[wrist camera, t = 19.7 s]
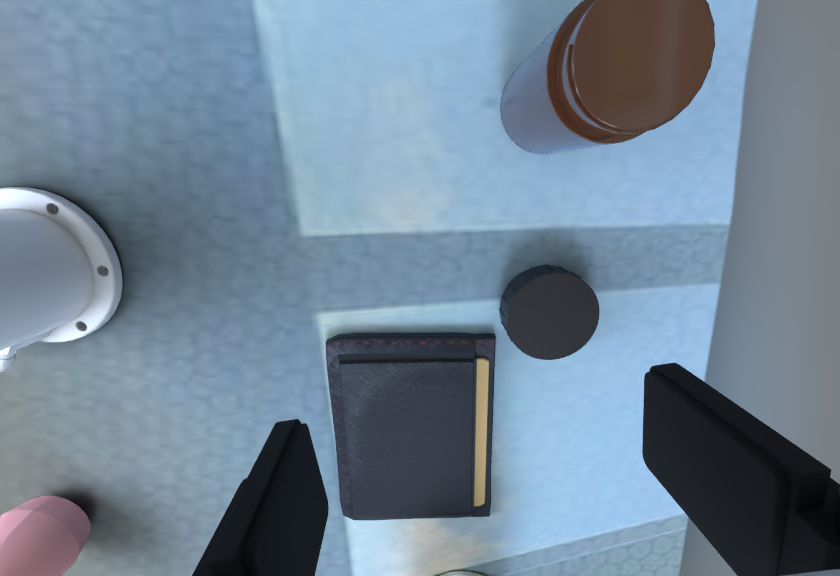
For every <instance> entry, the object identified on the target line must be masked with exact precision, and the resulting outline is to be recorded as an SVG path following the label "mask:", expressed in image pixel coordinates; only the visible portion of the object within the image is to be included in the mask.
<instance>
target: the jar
mask: <svg viewBox="0 0 840 576" xmlns="http://www.w3.org/2000/svg"><path fill="white" fill-rule="evenodd" d="M714 26H715V25H714V22H713V18H712V15H711V12H710V8H709V4H708V3H707V1H706V0H584V1H582V2H581V3H580V4H579V5H578V6H576V7H575V8H574V9H573V10H572V11H571V12H570V13H569V14H568V15H567V16H566V18H565V19H564V20H563V21H562V22H561V23H560V24H559V25H558V26H557V27H556V28H555V29H554V30H553V31H552V32H551V33H550V34H549V35H548V36H547V37H546V39H545V40H544V41H543V42H542V43H541V44H540V45H539V46H538V47H537V48H536V49H535V50H534V51H533V52H532V53H531V54H530V55H529V56H528V57H527V58H526V60H525V61H524V62H523V63H522V64H521V65H520V66H519V67H518V68H517V69H516V70H515V71H514V72H513V74H512V75H511V77H510V78H509V80H508V82H507V83H506V85H505V88H504V91H503V94H502V99H501V118H502V122H503V125H504V128H505V130H506V132H507V134H508V136H509V137H510V138H511V140H512V141H513V142H514V143H515V144H516V145H518V146H519V147H520V148H522V149H524V150H526V151H528V152H531V153H535V154H550V153H556V152H563V151H569V150H576V149H582V148H589V147H595V146H601V145H608V144H614V143H620V142H624V141H627V140H630V139H633V138H635V137H637V136H639V135H641V134H643V133H645V132H646V131H649V130H653V129H656V128H658V127H659V126H661V125H663V124H665V123H667V122H668V121H670V120H672V119H673V118H675V117H676V116H677V115H678V114H679V113H680V112H681V111H682V110H683V109H685V108H686V107H687V106H688V105H689V104H690V102H691V101H692V100H693V98H694V97H695V95H696V94H697V93H698V91H699V90H700V89H701V87H702V85H703V82H704V80H705V78H706V76H707V73H708V71H709V69H710V67H711V61H712V56H713V51H714V47H715V37H714Z"/></svg>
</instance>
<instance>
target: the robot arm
mask: <svg viewBox="0 0 840 576" xmlns="http://www.w3.org/2000/svg"><path fill="white" fill-rule="evenodd" d="M122 287H123V283H122V270H121V266H120V263H119V259H118V256H117V254H116V252H115V249H114V247H113V245H112V243H111V241H110V240H109V238H108V237H107V235H106V234H105V232H104V231H103V229H102V228H101V227H100V226H99V225H98V224H97V223H96V222H95V221H94V220H93V219H92V217H90V216H89V215H88V214H87V213H86V212H84V211H83V210H82V209H81V208H79V207H78V206H77V205H75V204H73V203H71V202H70V201H68V200H66V199H65V198H63V197H61V196H58V195H55V194H53V193H50V192H48V191H44V190H39V189H35V188H30V187H8V188H0V372H4V371H7V370H9V369H11V368H12V365H13V363H14V360H15V357H16V350H18V349H20V348H23V347H25V346H27V345H29V344H32V343H34V342H36V341H43V342H65V341H71V340H75V339H78V338H80V337H83V336H86V335H88V334H90V333H91V332H93V331H95V330H97V329H99V328H100V327H101V326H103V325H104V324H105V323H106V322H107V321H109V319H110V318H111V317H112V315H113V314H114V312H115V311H116V309H117V306H118V304H119V302H120V299H121V293H122ZM643 459H644V461H645V464H646V466H647V467H648V469H649V470H650V471H651V472H652V473H653V475H654V476H655V477H656V478H657V479H658V481H659V482H660V483H661V484H662V485H663V487H664V488H665V489H666V490H667V491H668V493H669V494H670V495H671V496H672V497H673V499H674V500H675V501H676V502H677V503H678V505H679V506H680V507H681V508H682V509H683V511H684V512H685V513H686V514H687V515H688V517H689V518H690V519H691V520H692V521H693V523H694V524H695V525H696V526H697V527H698V529H699V530H700V531H701V532H702V534H704V536H705V537H706V538H707V539H708V541H709V542H710V543H711V544H712V546H713V547H714V548H715V549H716V550H717V551H718V553H719V554H720V555H721V556H722V558H723V559H724V560H725V561H726V562H727V564H728V565H729V566H730V567H731V568H732V570H733V571H734V572H735V573H736V574H737V575H738V576H840V484H838V483H837V482H835V481H834V480H833V479H831V478H830V474H831V469H829V468H828V467H826V466H825V465H823V464H822V463H821V462H819V461H818V460H816V459H815V458H813V457H812V456H811V455H809V454H808V453H806V452H805V451H803V450H802V449H800V448H799V447H798V446H796V445H795V444H793V443H792V442H790V441H789V440H787V439H786V438H784V437H783V436H781V435H780V434H779V433H777V432H776V431H774V430H773V429H771V428H770V427H769V426H767V425H766V424H764V423H763V422H761V421H760V420H758V419H757V418H755V417H754V416H753V415H751V414H750V413H748V412H747V411H745V410H744V409H742V408H741V407H740V406H738V405H737V404H735V403H734V402H732V401H731V400H729V399H728V398H727V397H725V396H724V395H722V394H721V393H719V392H718V391H716V390H715V389H713V388H712V387H711V386H709V385H708V384H706V383H705V382H703V381H702V380H701V379H699V378H698V377H696V376H695V375H693V374H692V373H690V372H689V371H687V370H686V369H685V368H683V367H682V366H680V365H679V364H677V363H669V364H662V365H656V366H652V367H651V369H650V372H647V373H646V374H645V378H644V415H643ZM327 517H328V500H327V496H326V492H325V488H324V485H323V481H322V477H321V473H320V470H319V466H318V462H317V458H316V455H315V451H314V447H313V443H312V440H311V436H310V432H309V429H308V426H307V424H301V422H300V421H299V420H298V419H294V420H288V421H281V422H277V423H276V424H275V425H274V427H273V429H272V431H271V433H270V435H269V437H268V439H267V441H266V443H265V445H264V447H263V449H262V451H261V452H260V454H259V456H258V458H257V460H256V462H255V464H254V466H253V468H252V470H251V472H250V474H249V476H248V478H246V479H244V480H243V481H242V483H241V484H240V486H239V488H238V490H237V491H236V493H235V495H234V497H233V499H232V501H231V503H230V505H229V507H228V509H227V510H226V512H225V514H224V516H223V518H222V520H221V522H220V524H219V526H218V527H217V529H216V531H215V533H214V535H213V537H212V539H211V541H210V543H209V545H208V546H207V548H206V550H205V552H204V554H203V556H202V558H201V560H200V562H199V563H198V565H197V567H196V569H195V571H194V573H193V575H192V576H315V571H316V567H317V562H318V558H319V553H320V549H321V544H322V540H323V535H324V531H325V526H326V522H327Z"/></svg>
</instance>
